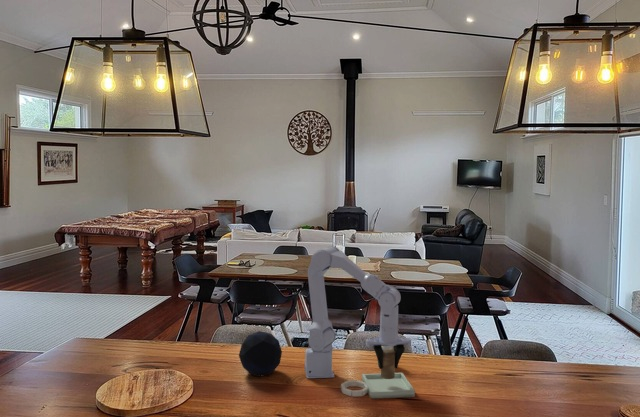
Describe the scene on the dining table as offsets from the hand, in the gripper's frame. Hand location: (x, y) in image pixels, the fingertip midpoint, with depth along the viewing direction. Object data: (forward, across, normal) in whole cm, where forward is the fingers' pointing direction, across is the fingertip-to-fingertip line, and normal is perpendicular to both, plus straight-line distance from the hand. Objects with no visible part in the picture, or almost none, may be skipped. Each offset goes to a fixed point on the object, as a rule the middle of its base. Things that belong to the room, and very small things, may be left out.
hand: (387, 367), depth 161 cm
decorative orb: (+7, -41, +15) cm, 44 cm away
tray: (+7, 0, 0) cm, 7 cm away
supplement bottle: (+7, +4, +19) cm, 21 cm away
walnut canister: (+3, 0, 0) cm, 3 cm away
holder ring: (+7, -11, -1) cm, 13 cm away
